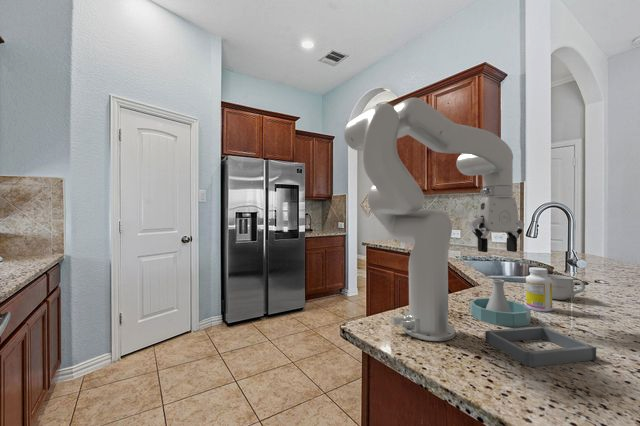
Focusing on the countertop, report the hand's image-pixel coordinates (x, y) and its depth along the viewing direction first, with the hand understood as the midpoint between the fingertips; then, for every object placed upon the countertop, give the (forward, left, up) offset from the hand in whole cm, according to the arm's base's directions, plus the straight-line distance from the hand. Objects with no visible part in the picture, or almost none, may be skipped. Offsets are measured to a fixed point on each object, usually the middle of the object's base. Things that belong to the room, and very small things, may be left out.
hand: (497, 251), depth 86 cm
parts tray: (-8, -20, -19) cm, 29 cm away
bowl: (0, 0, -19) cm, 19 cm away
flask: (0, 0, -19) cm, 19 cm away
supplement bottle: (+18, +4, -19) cm, 27 cm away
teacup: (+35, +12, -20) cm, 42 cm away
